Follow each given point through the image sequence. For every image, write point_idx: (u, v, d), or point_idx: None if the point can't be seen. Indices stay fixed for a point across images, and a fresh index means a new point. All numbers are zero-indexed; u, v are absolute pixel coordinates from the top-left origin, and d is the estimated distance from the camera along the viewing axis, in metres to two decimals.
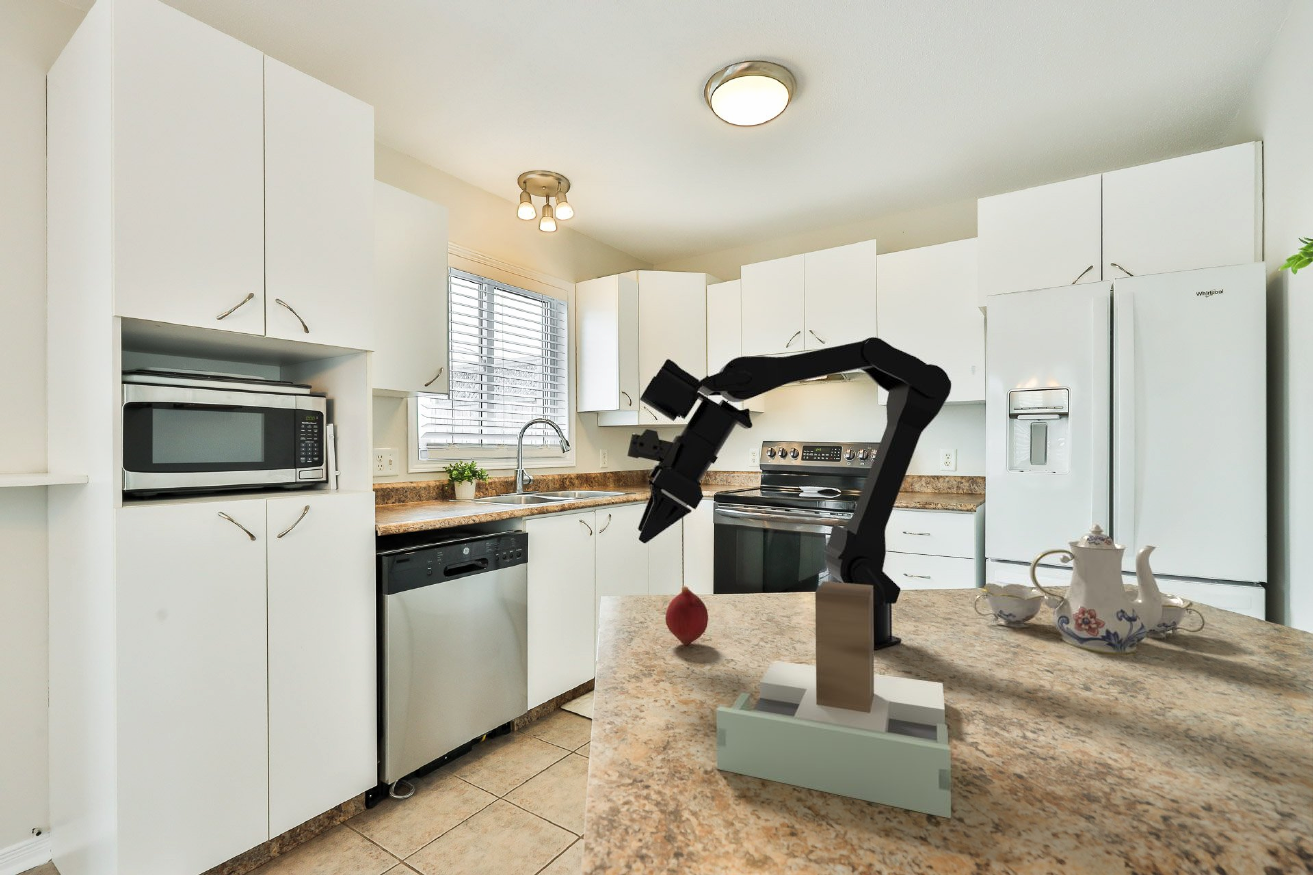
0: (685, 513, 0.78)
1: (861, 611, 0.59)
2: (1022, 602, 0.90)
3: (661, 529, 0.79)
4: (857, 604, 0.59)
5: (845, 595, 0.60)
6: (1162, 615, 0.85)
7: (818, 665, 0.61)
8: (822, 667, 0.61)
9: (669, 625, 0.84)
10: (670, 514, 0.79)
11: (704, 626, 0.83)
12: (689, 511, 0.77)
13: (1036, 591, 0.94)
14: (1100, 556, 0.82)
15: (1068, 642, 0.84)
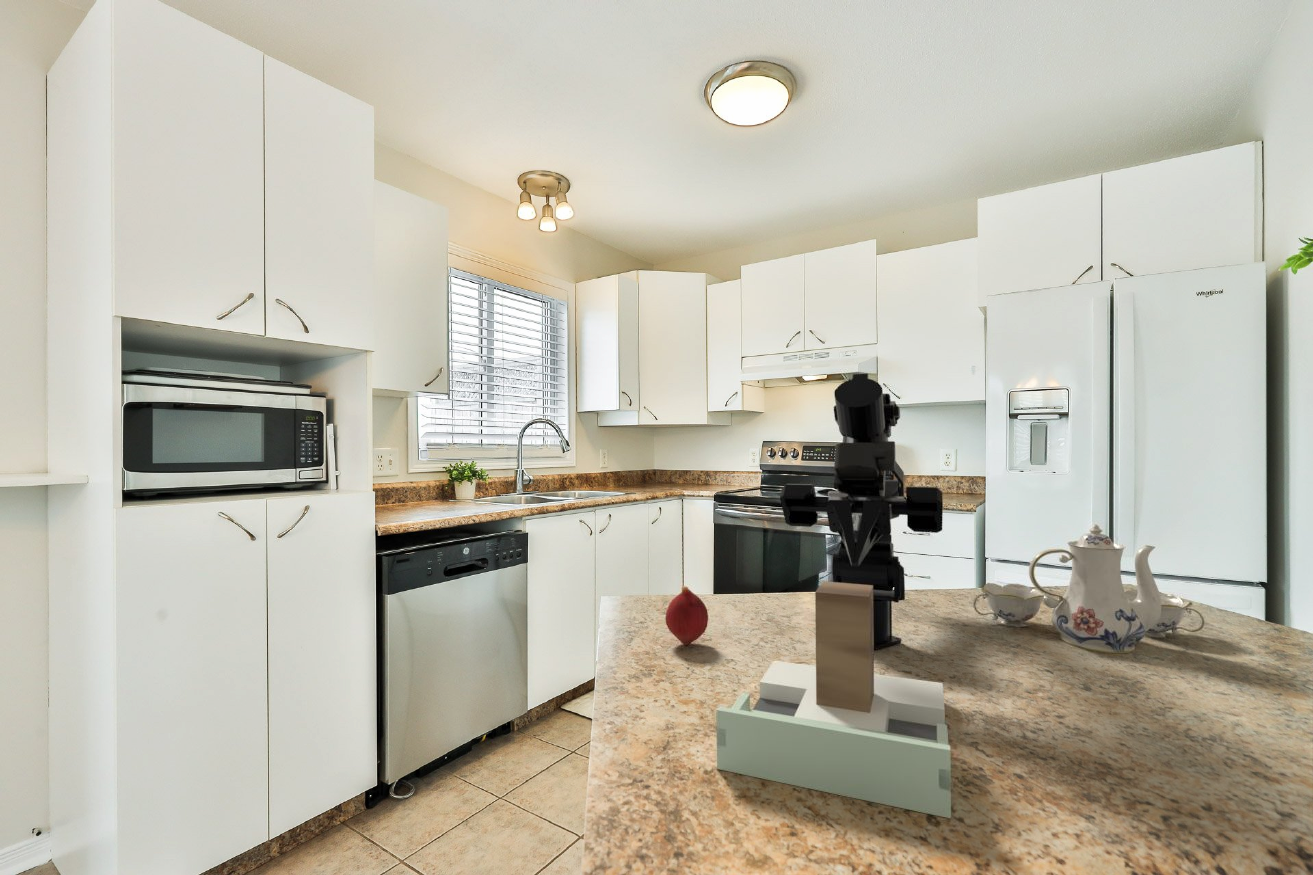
0: (881, 535, 0.76)
1: (861, 611, 0.59)
2: (1021, 602, 0.90)
3: (867, 550, 0.74)
4: (857, 604, 0.59)
5: (845, 595, 0.60)
6: (1161, 615, 0.85)
7: (818, 665, 0.61)
8: (822, 667, 0.61)
9: (669, 625, 0.84)
10: (872, 535, 0.75)
11: (704, 626, 0.83)
12: None
13: (1035, 591, 0.95)
14: (1099, 556, 0.82)
15: (1067, 641, 0.85)
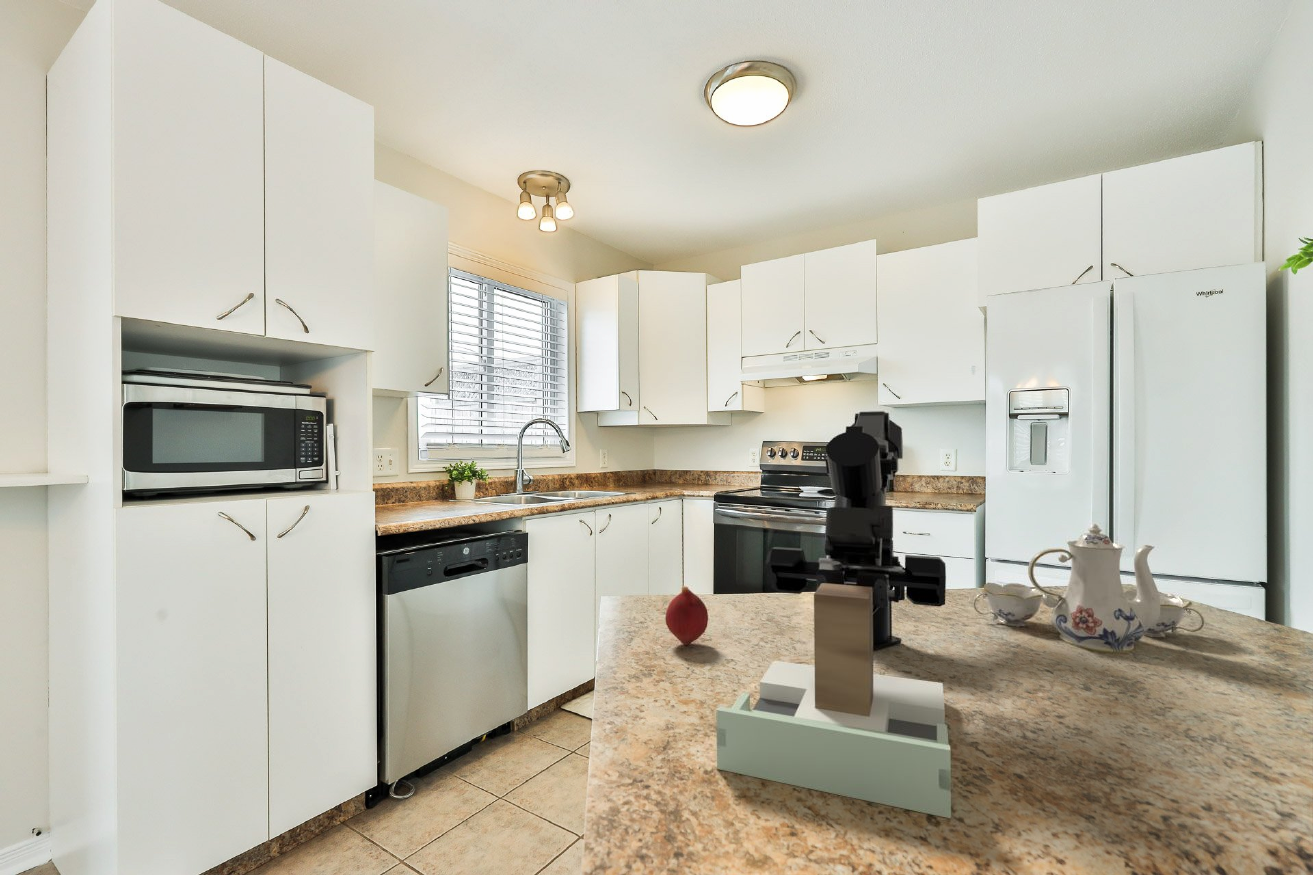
0: (877, 607, 0.69)
1: (860, 613, 0.58)
2: (1021, 601, 0.90)
3: None
4: (856, 607, 0.59)
5: (844, 597, 0.59)
6: (1161, 614, 0.85)
7: (817, 668, 0.60)
8: (821, 670, 0.60)
9: (669, 625, 0.84)
10: None
11: (704, 626, 0.83)
12: None
13: (1035, 590, 0.95)
14: (1098, 555, 0.83)
15: (1066, 641, 0.85)
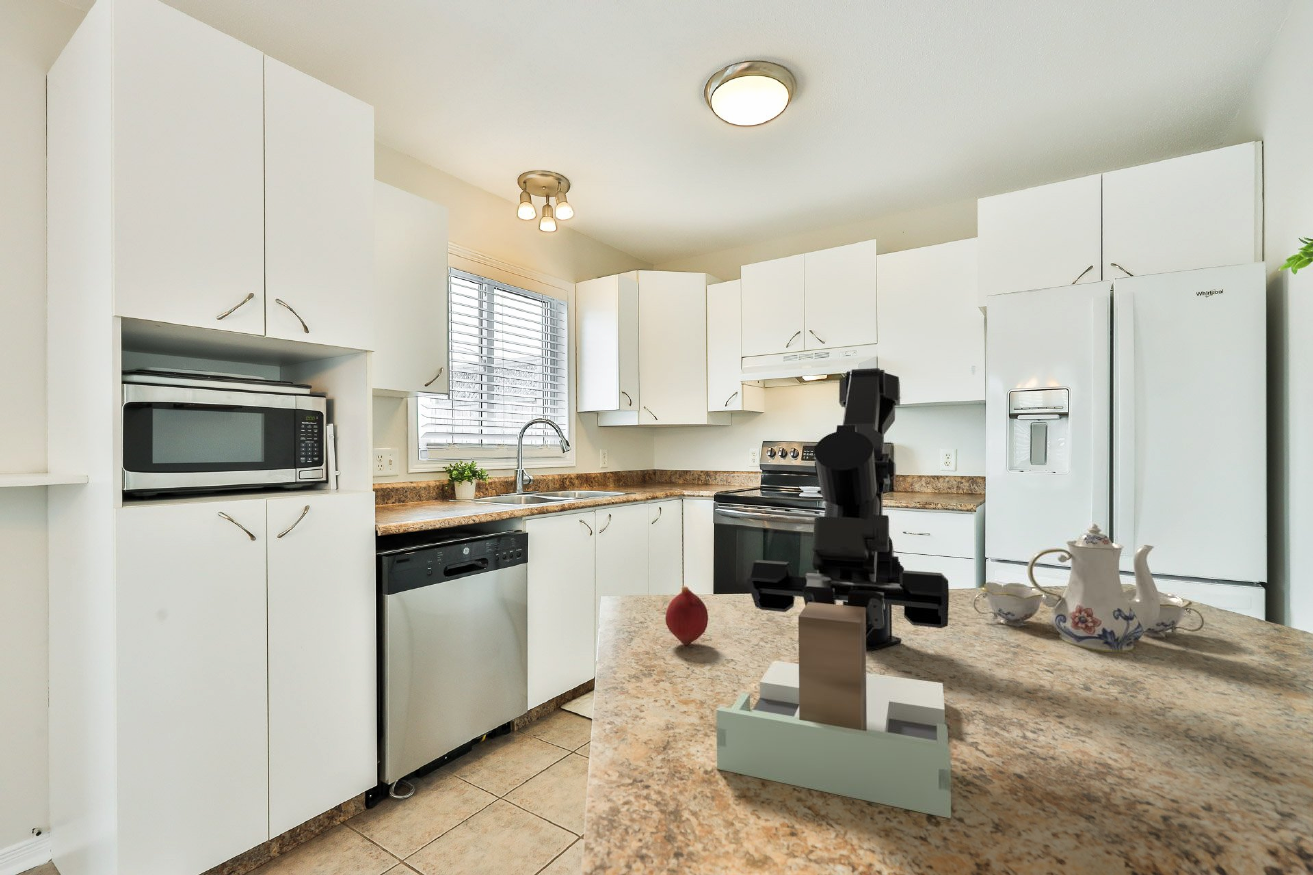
0: (871, 628, 0.61)
1: (851, 640, 0.51)
2: (1020, 601, 0.90)
3: None
4: (846, 632, 0.51)
5: (833, 620, 0.51)
6: (1161, 614, 0.85)
7: (801, 701, 0.52)
8: (806, 703, 0.52)
9: (669, 625, 0.84)
10: None
11: (704, 626, 0.83)
12: None
13: (1035, 590, 0.95)
14: (1097, 555, 0.83)
15: (1065, 640, 0.85)
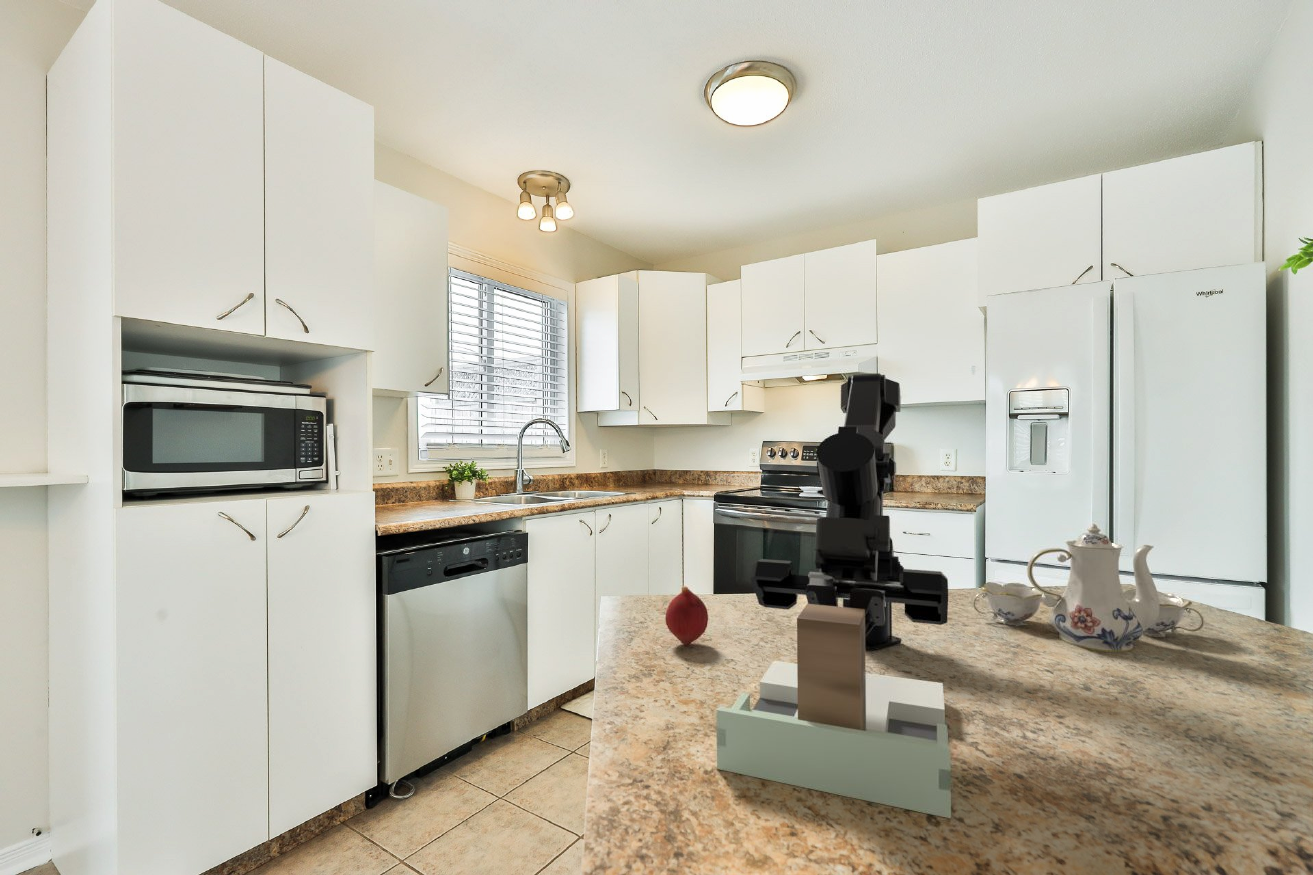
0: (873, 625, 0.63)
1: (850, 642, 0.50)
2: (1020, 600, 0.91)
3: None
4: (845, 634, 0.50)
5: (832, 622, 0.51)
6: (1160, 614, 0.85)
7: (800, 704, 0.52)
8: (805, 706, 0.52)
9: (669, 625, 0.84)
10: None
11: (704, 626, 0.83)
12: None
13: (1035, 590, 0.95)
14: (1096, 555, 0.83)
15: (1065, 640, 0.85)
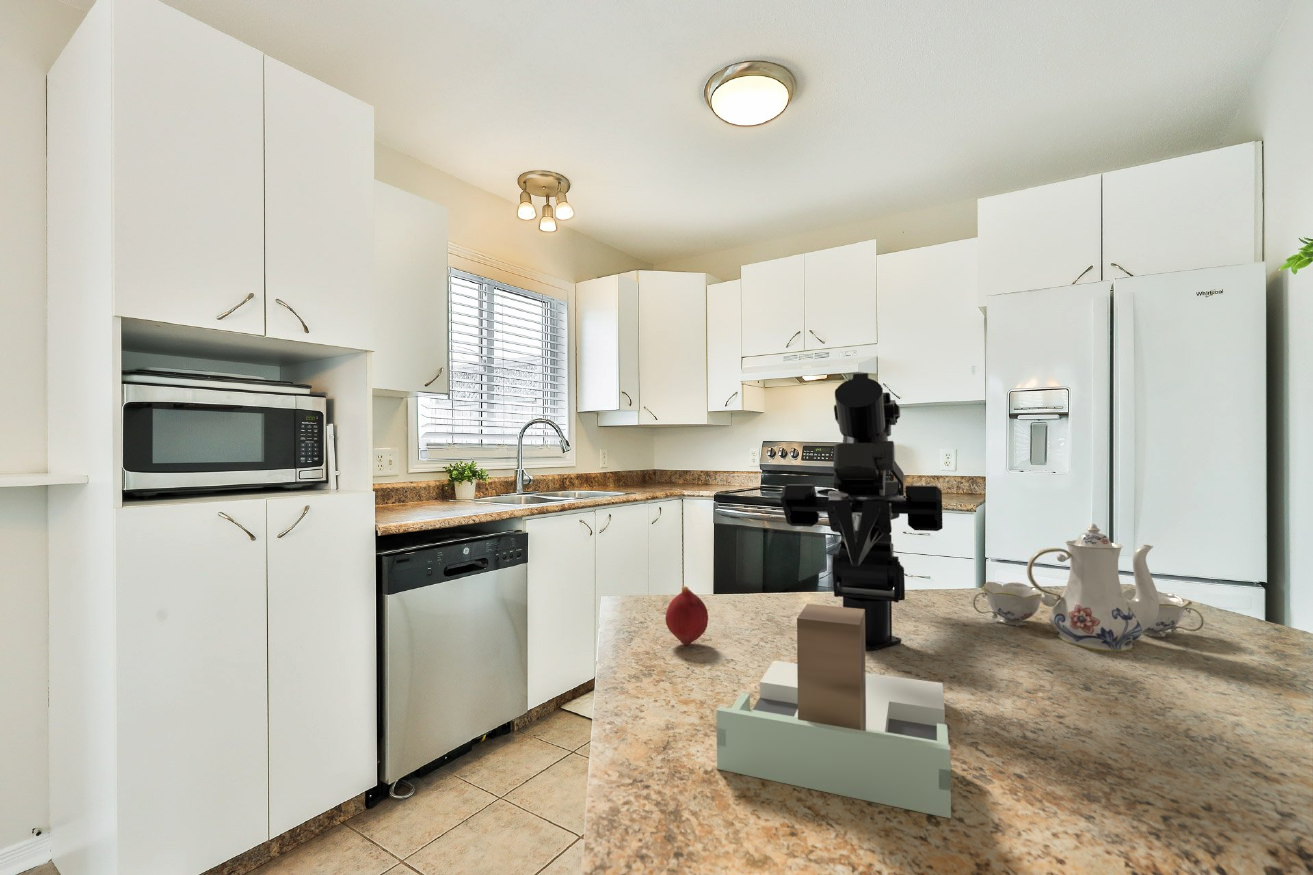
0: (882, 534, 0.77)
1: (850, 642, 0.50)
2: (1020, 600, 0.91)
3: (868, 550, 0.74)
4: (845, 634, 0.50)
5: (832, 622, 0.51)
6: (1160, 614, 0.85)
7: (800, 704, 0.52)
8: (805, 706, 0.52)
9: (669, 625, 0.84)
10: (873, 534, 0.75)
11: (704, 626, 0.83)
12: None
13: (1035, 589, 0.95)
14: (1096, 555, 0.83)
15: (1064, 640, 0.85)
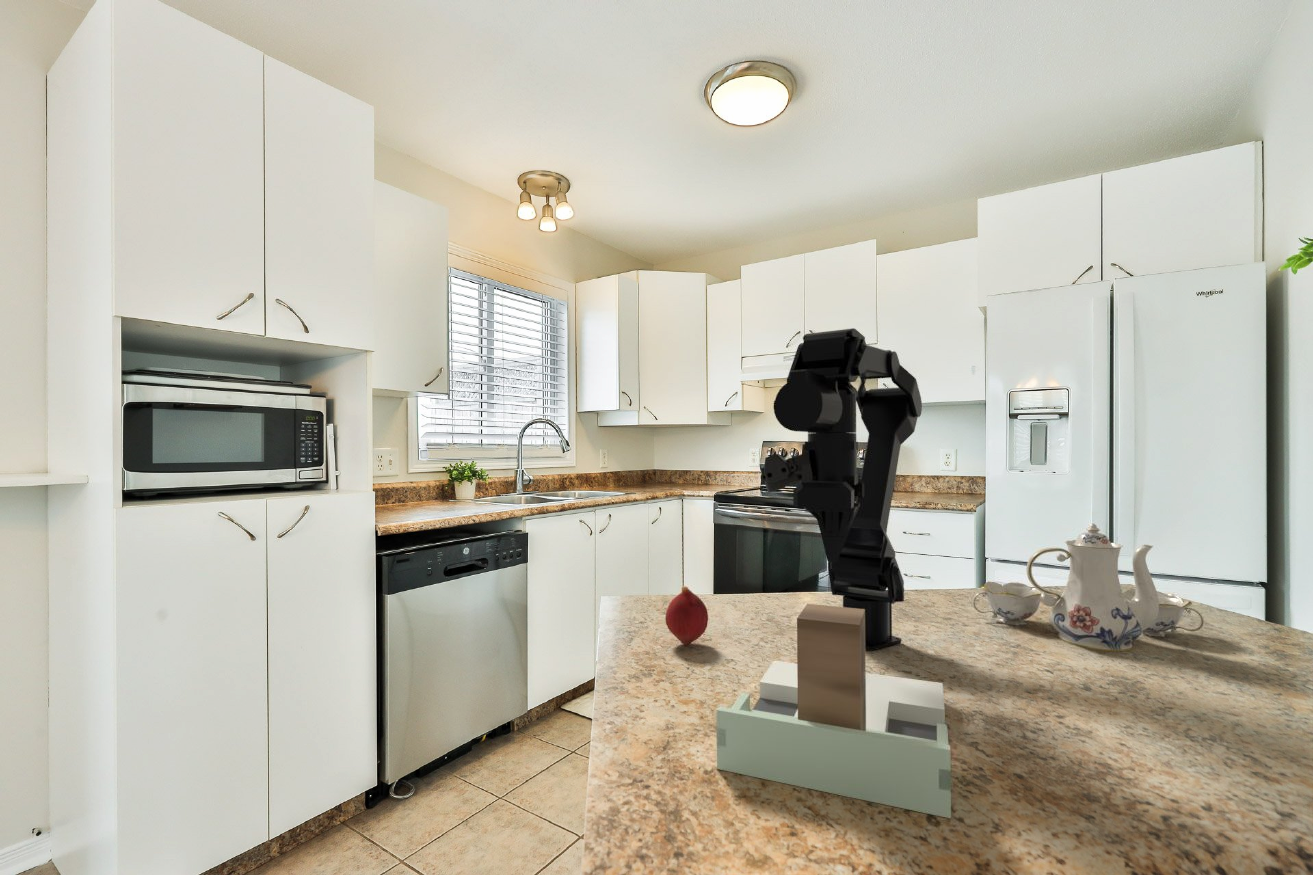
0: (852, 513, 0.72)
1: (850, 642, 0.50)
2: (1020, 600, 0.91)
3: (841, 540, 0.74)
4: (845, 634, 0.50)
5: (832, 622, 0.51)
6: (1160, 614, 0.85)
7: (800, 704, 0.52)
8: (805, 706, 0.52)
9: (669, 625, 0.84)
10: (840, 522, 0.74)
11: (704, 626, 0.83)
12: (852, 509, 0.71)
13: (1035, 589, 0.95)
14: (1095, 555, 0.83)
15: (1064, 639, 0.85)
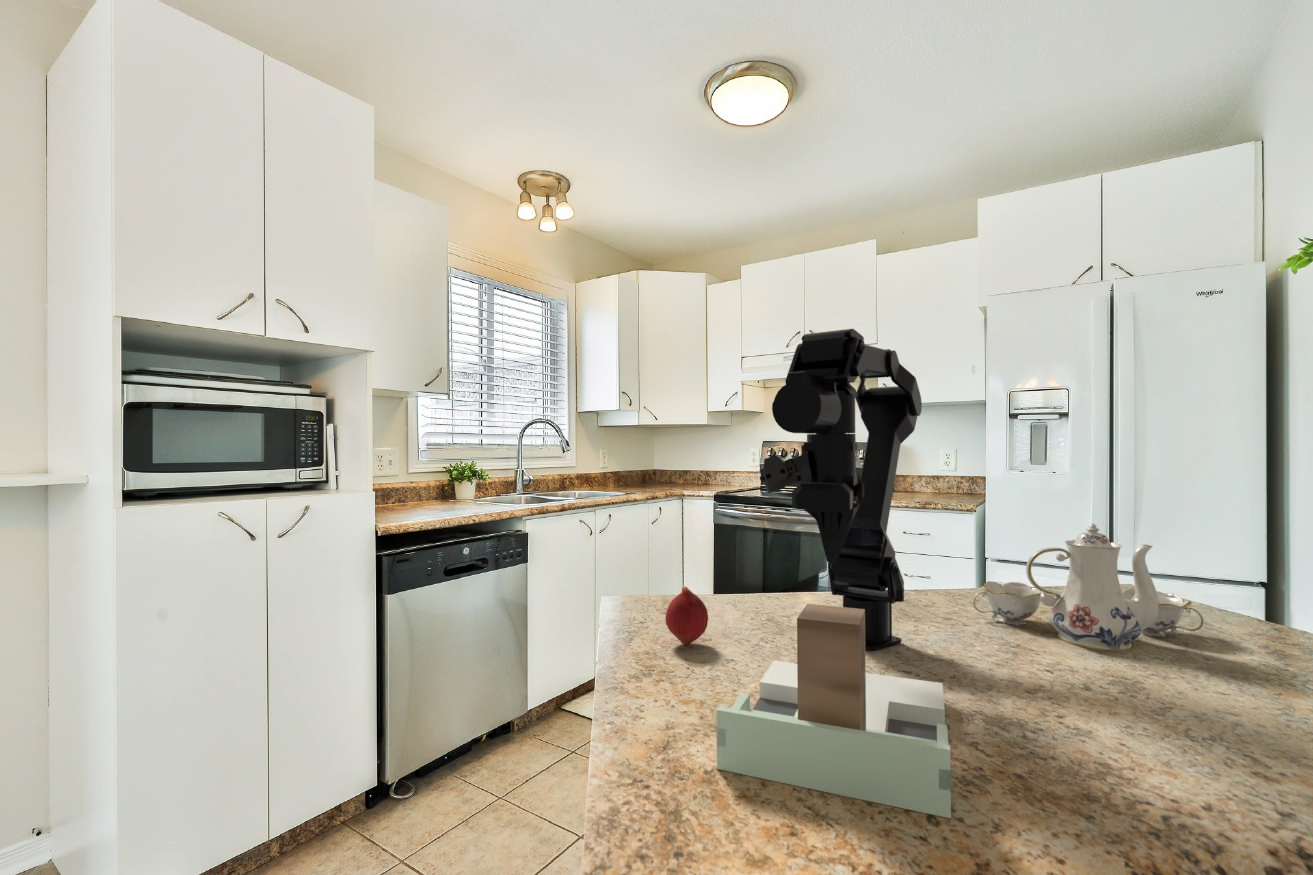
0: (851, 514, 0.72)
1: (850, 642, 0.50)
2: (1019, 600, 0.91)
3: (841, 541, 0.74)
4: (845, 634, 0.50)
5: (832, 622, 0.51)
6: (1160, 614, 0.86)
7: (800, 704, 0.52)
8: (805, 706, 0.52)
9: (669, 625, 0.84)
10: (839, 522, 0.74)
11: (704, 626, 0.83)
12: (851, 510, 0.71)
13: (1035, 589, 0.95)
14: (1095, 554, 0.83)
15: (1064, 639, 0.86)
